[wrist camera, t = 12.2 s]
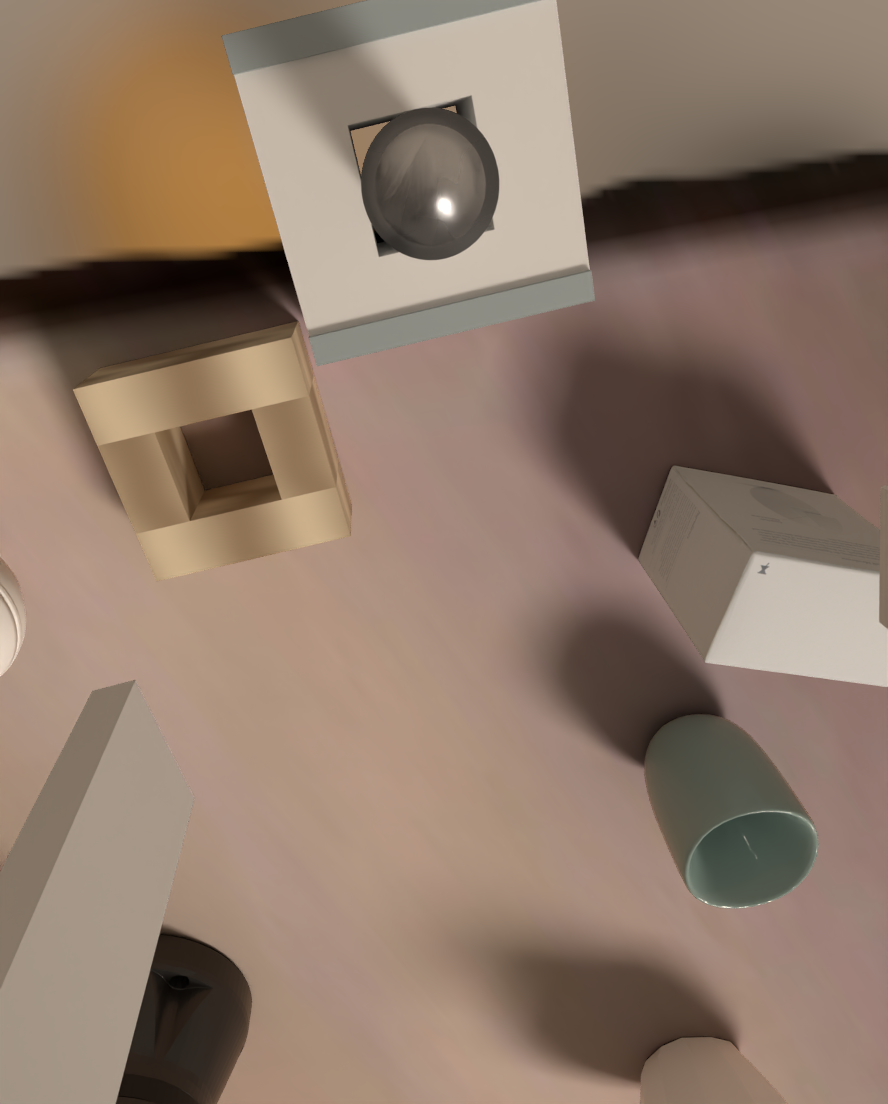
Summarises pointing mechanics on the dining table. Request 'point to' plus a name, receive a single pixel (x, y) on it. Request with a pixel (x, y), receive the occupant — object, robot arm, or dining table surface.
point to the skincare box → (769, 576)
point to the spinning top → (10, 617)
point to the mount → (168, 468)
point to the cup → (727, 813)
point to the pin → (430, 183)
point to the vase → (704, 1075)
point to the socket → (380, 96)
